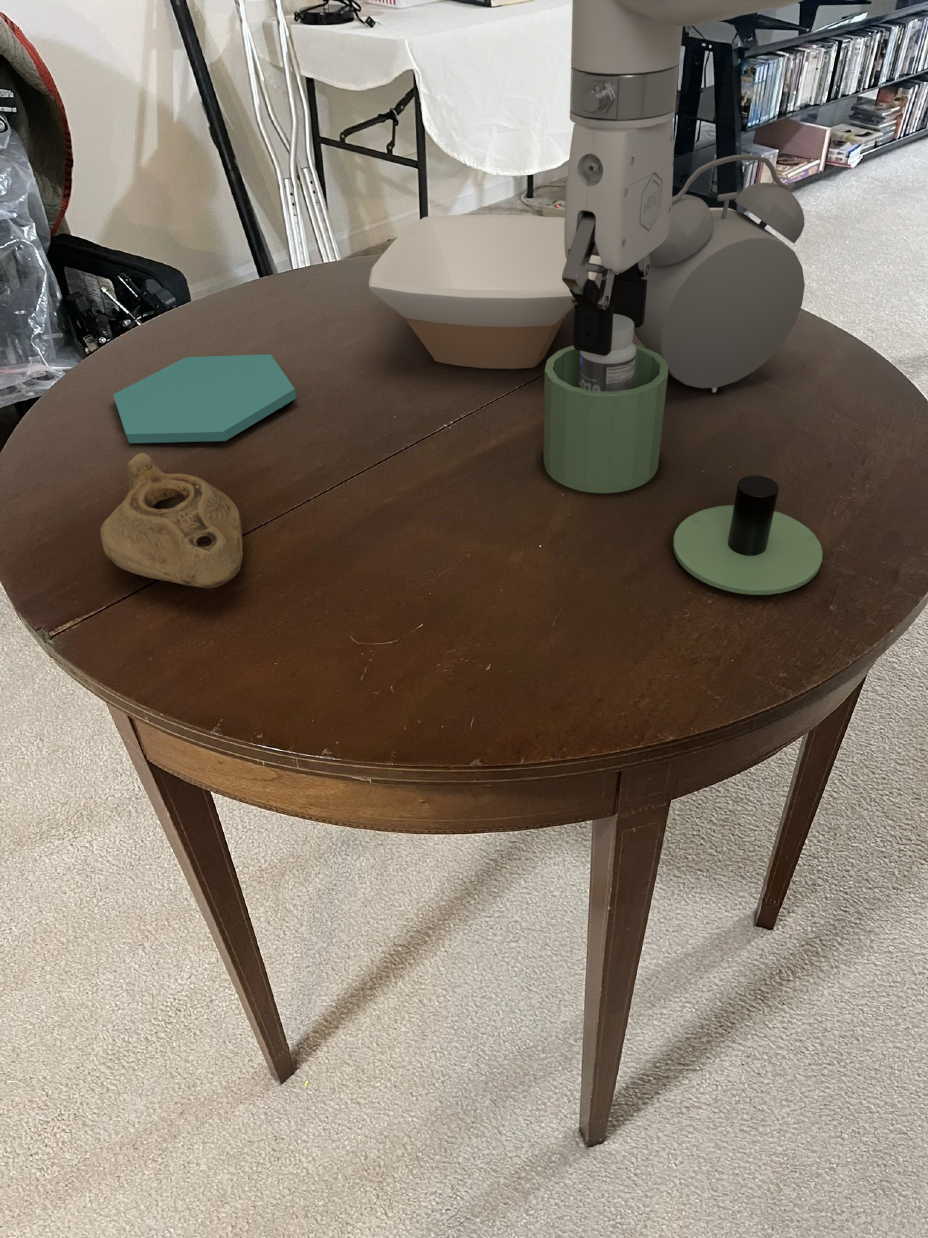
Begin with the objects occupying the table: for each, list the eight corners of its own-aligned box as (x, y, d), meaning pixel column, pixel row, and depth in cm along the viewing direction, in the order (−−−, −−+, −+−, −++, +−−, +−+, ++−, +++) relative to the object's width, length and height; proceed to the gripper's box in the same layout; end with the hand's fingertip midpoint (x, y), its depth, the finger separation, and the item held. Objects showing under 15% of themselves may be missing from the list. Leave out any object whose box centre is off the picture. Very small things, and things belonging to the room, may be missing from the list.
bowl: (362, 386, 100) (350, 288, 93) (423, 298, 118) (417, 210, 111) (582, 401, 95) (587, 299, 88) (611, 307, 113) (616, 216, 106)
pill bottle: (567, 408, 83) (570, 317, 78) (613, 397, 85) (619, 307, 79) (593, 431, 80) (599, 337, 75) (641, 419, 81) (649, 326, 76)
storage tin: (576, 425, 91) (580, 332, 85) (675, 451, 87) (687, 355, 81) (523, 474, 85) (523, 377, 79) (627, 505, 80) (636, 405, 74)
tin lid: (704, 502, 80) (714, 434, 76) (838, 540, 75) (856, 469, 71) (648, 572, 73) (656, 501, 69) (792, 619, 68) (810, 546, 64)
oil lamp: (193, 638, 69) (166, 552, 64) (83, 564, 77) (52, 482, 72) (303, 568, 75) (286, 484, 70) (191, 506, 83) (169, 426, 78)
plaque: (84, 452, 93) (275, 450, 90) (77, 434, 92) (271, 431, 89) (149, 373, 106) (318, 368, 103) (144, 356, 105) (314, 351, 102)
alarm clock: (750, 352, 102) (786, 132, 88) (795, 385, 96) (842, 154, 81) (613, 379, 98) (628, 154, 84) (651, 415, 92) (674, 179, 78)
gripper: (617, 126, 59) (603, 388, 71) (718, 74, 70) (691, 309, 82) (516, 116, 62) (518, 368, 74) (627, 67, 73) (613, 294, 85)
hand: (609, 335), depth 78 cm, fingers open, 5 cm apart
